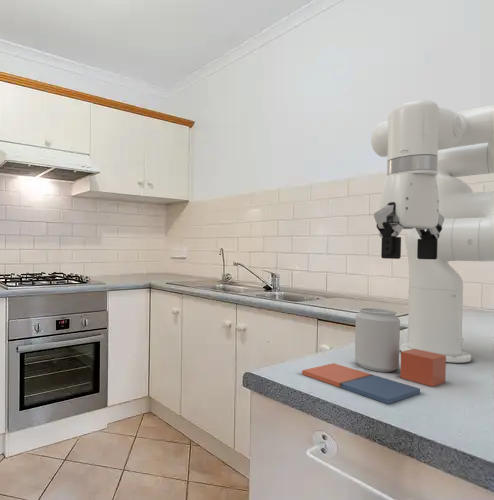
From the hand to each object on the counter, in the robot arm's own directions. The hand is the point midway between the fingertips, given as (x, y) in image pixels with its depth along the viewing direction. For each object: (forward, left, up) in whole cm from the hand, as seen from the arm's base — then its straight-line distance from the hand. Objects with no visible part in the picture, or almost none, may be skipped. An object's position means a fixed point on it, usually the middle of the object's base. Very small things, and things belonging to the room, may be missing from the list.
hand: (409, 258), depth 70 cm
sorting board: (+12, -2, -23) cm, 26 cm away
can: (-1, -6, -23) cm, 24 cm away
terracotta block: (-1, +2, -23) cm, 23 cm away
